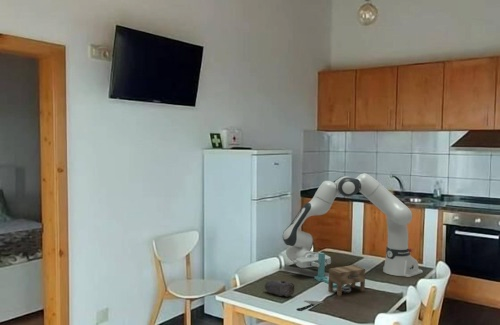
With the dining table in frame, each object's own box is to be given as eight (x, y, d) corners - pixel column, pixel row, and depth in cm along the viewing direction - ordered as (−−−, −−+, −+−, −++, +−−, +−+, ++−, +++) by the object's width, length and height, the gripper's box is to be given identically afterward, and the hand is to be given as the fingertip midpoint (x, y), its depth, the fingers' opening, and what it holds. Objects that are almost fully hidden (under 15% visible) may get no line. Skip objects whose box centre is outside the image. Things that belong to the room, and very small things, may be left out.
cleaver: (283, 306, 203) (301, 312, 196) (283, 305, 203) (301, 311, 196) (324, 292, 223) (341, 297, 216) (324, 291, 223) (341, 296, 216)
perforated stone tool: (262, 293, 219) (262, 278, 218) (267, 290, 223) (268, 276, 223) (289, 299, 211) (290, 284, 210) (295, 296, 215) (295, 282, 215)
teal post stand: (313, 279, 242) (313, 253, 241) (323, 277, 245) (324, 251, 244) (332, 288, 228) (333, 260, 227) (343, 286, 231) (344, 259, 230)
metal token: (347, 289, 227) (347, 286, 227) (352, 292, 223) (352, 288, 223) (340, 290, 225) (340, 287, 225) (345, 293, 221) (345, 290, 221)
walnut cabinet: (353, 286, 232) (354, 264, 231) (365, 291, 224) (366, 269, 223) (328, 290, 224) (329, 268, 223) (340, 296, 216) (340, 273, 216)
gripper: (291, 255, 247) (306, 261, 235) (321, 251, 257) (337, 257, 245) (290, 266, 248) (306, 273, 235) (321, 262, 258) (337, 268, 246)
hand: (322, 265), depth 240 cm, fingers closed on teal post stand, 2 cm apart
